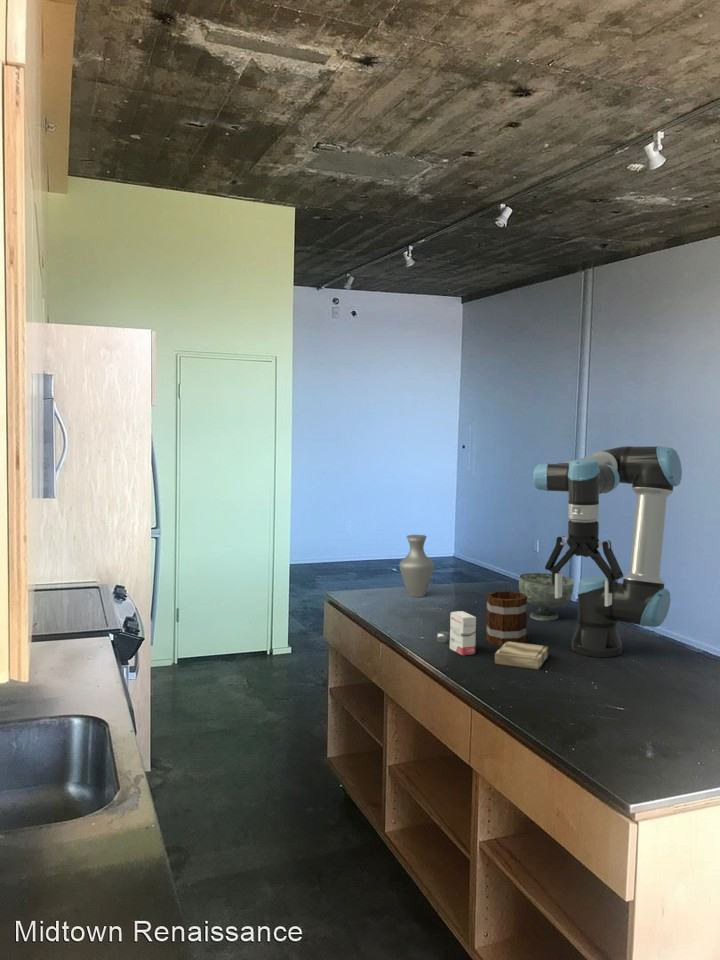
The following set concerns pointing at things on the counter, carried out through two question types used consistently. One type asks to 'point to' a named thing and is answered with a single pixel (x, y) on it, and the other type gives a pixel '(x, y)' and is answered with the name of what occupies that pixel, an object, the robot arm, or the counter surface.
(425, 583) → the vase
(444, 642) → the silver metal dome
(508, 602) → the mug
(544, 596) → the bowl
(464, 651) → the ink box
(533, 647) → the stand
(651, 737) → the counter surface
